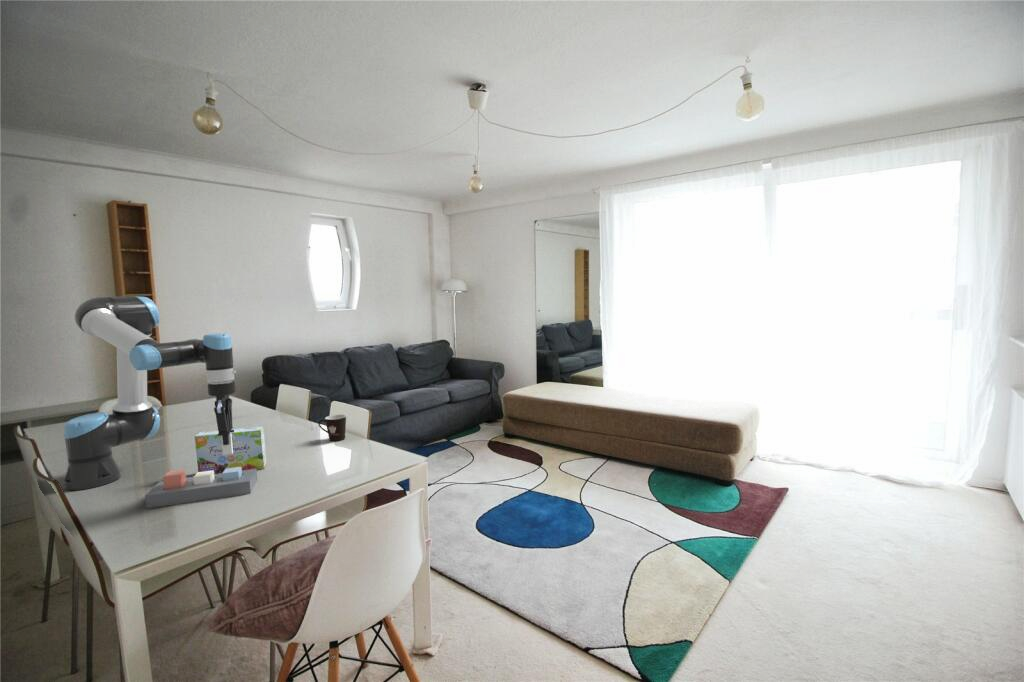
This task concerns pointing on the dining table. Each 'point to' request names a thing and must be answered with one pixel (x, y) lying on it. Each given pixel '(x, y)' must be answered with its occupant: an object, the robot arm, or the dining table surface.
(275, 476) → the dining table surface
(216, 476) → the console
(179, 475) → the brick key
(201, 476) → the ivory key
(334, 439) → the coffee mug
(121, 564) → the dining table surface
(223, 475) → the slate key
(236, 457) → the snack box
